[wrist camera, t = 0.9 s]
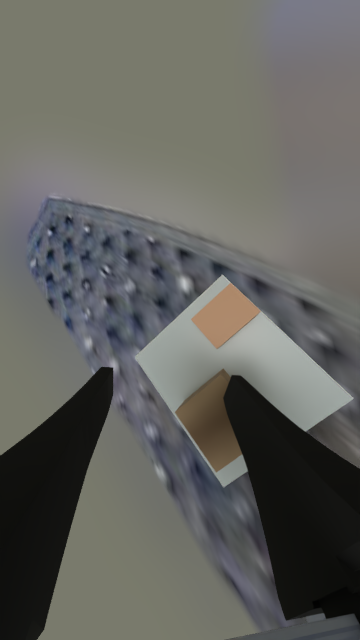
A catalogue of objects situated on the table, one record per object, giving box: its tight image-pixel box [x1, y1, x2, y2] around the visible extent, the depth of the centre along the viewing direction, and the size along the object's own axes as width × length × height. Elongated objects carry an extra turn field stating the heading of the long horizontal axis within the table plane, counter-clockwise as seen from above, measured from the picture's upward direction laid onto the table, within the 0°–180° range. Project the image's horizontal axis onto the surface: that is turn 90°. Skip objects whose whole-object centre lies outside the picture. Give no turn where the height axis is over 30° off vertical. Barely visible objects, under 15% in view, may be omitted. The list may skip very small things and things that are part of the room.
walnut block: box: [175, 369, 242, 473], centre depth 20 cm, size 7×7×4 cm
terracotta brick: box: [191, 283, 261, 349], centre depth 20 cm, size 4×6×4 cm
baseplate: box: [135, 275, 354, 487], centre depth 22 cm, size 20×18×1 cm
